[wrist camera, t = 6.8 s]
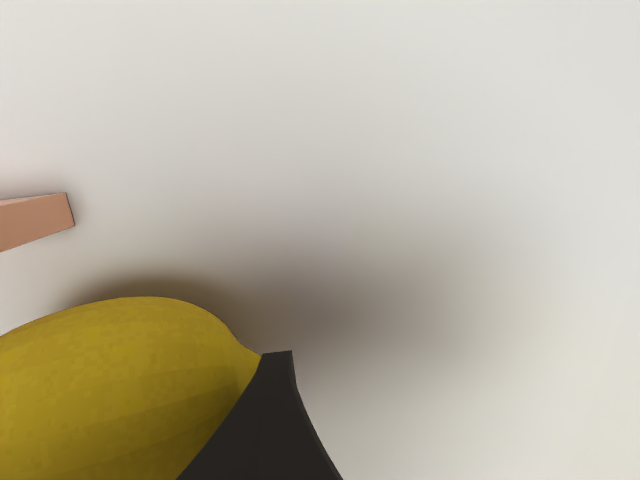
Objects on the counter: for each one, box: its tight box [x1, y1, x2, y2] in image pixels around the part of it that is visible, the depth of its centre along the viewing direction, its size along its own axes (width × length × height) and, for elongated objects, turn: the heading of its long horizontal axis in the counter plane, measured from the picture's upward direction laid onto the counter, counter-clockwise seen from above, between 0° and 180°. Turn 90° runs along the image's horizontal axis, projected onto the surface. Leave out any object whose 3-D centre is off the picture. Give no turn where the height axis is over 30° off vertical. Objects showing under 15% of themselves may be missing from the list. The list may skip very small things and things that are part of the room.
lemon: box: [0, 296, 262, 480], centre depth 9 cm, size 6×6×8 cm
